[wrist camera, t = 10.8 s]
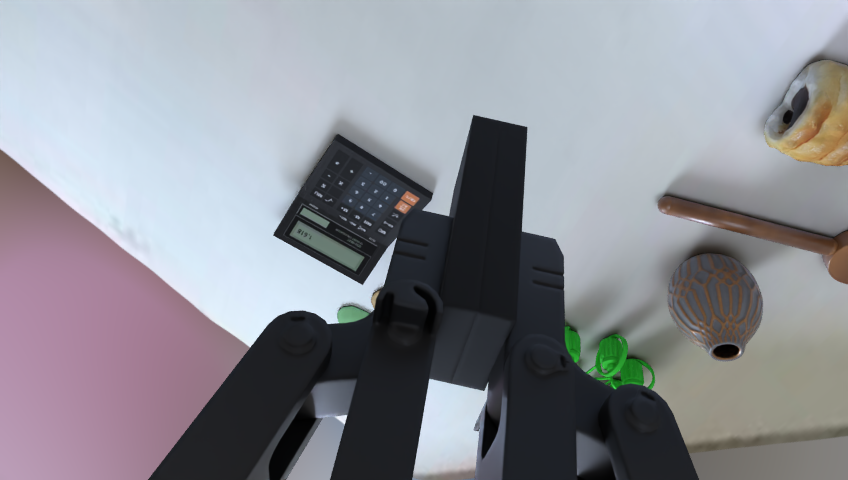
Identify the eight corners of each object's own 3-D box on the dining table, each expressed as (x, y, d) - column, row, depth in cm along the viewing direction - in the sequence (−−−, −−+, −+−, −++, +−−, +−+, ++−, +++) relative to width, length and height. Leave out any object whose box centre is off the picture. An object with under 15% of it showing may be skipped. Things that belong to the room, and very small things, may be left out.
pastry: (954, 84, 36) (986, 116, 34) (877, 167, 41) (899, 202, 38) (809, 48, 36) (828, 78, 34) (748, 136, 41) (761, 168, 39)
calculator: (432, 193, 50) (427, 216, 47) (368, 264, 57) (360, 287, 55) (337, 134, 47) (327, 155, 45) (282, 216, 55) (271, 238, 52)
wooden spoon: (642, 220, 48) (644, 232, 47) (673, 171, 44) (676, 182, 43) (868, 279, 48) (875, 291, 47) (917, 235, 44) (925, 247, 43)
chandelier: (657, 399, 64) (665, 459, 59) (522, 404, 69) (519, 459, 64) (645, 311, 55) (654, 372, 50) (491, 323, 60) (485, 380, 55)
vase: (737, 229, 47) (764, 313, 41) (760, 283, 50) (788, 368, 44) (651, 255, 50) (664, 336, 44) (678, 304, 54) (693, 386, 47)
